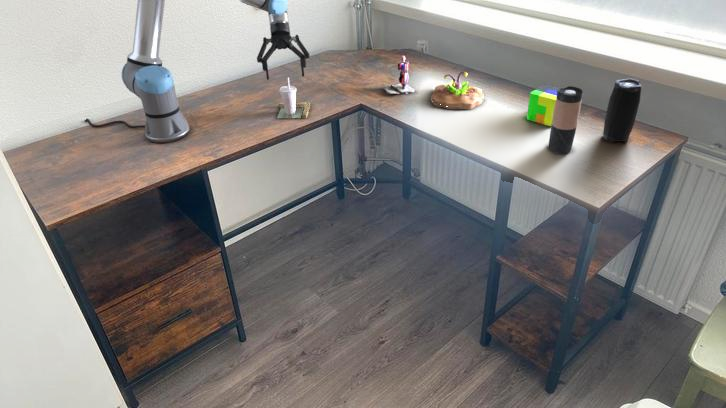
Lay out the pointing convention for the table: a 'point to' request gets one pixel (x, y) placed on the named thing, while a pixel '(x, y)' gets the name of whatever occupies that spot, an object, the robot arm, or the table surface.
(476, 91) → the plant
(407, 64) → the statue
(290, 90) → the smoothie
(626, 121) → the portable speaker
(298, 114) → the corner guide
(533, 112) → the puzzle toy
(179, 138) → the robot arm
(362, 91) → the table surface
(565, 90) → the travel mug
